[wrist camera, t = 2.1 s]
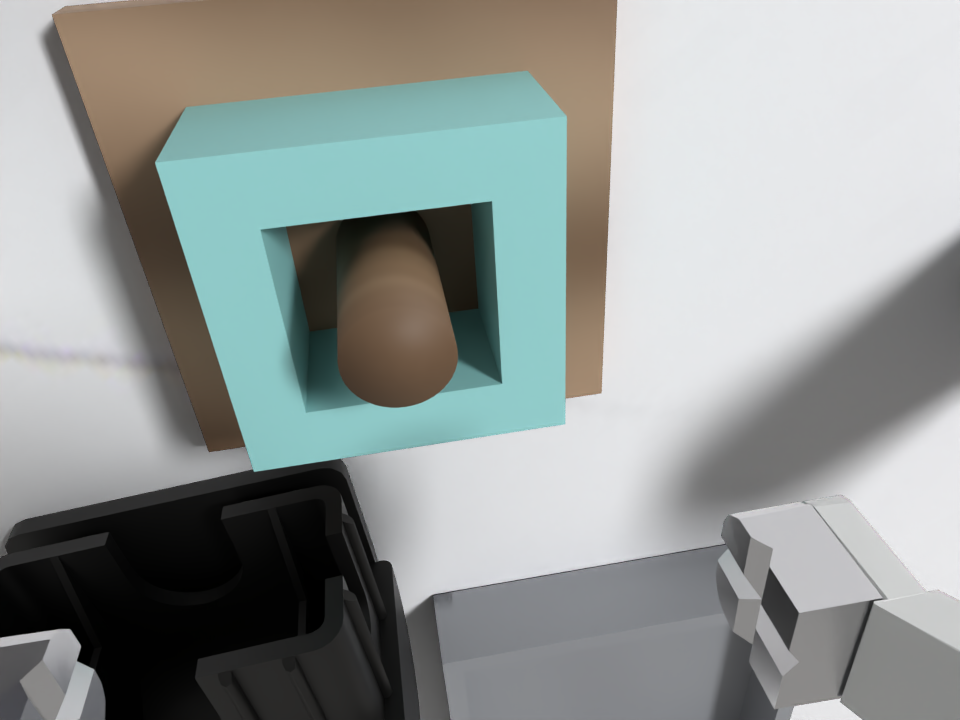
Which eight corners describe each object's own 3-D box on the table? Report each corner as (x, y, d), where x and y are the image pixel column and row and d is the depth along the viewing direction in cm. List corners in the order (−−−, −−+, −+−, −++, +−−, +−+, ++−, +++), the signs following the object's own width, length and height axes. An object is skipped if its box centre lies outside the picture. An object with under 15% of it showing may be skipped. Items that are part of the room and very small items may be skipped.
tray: (433, 595, 24) (442, 664, 22) (790, 533, 25) (830, 593, 23) (461, 782, 31) (470, 847, 29) (740, 726, 32) (768, 786, 30)
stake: (65, 6, 13) (-62, 82, 9) (605, -44, 14) (722, 4, 10) (213, 431, 19) (178, 601, 15) (592, 375, 20) (663, 520, 16)
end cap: (103, 674, 24) (35, 921, 18) (-14, 525, 20) (-146, 786, 14) (410, 603, 24) (432, 824, 19) (358, 444, 20) (368, 666, 15)
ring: (185, 107, 14) (154, 162, 12) (527, 70, 15) (566, 116, 12) (264, 385, 18) (253, 471, 15) (534, 347, 18) (565, 424, 16)
